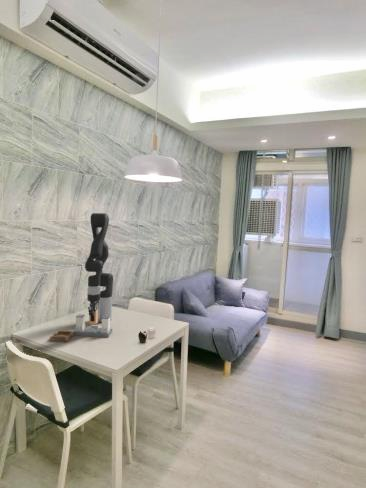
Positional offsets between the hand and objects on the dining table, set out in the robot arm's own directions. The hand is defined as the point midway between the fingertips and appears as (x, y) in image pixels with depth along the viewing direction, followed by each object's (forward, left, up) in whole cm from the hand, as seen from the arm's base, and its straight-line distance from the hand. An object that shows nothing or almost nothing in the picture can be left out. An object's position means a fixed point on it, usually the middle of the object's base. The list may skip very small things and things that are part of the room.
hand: (93, 319), depth 198 cm
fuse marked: (0, 0, -2) cm, 2 cm away
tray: (+10, -15, -9) cm, 20 cm away
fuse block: (0, 0, -9) cm, 9 cm away
